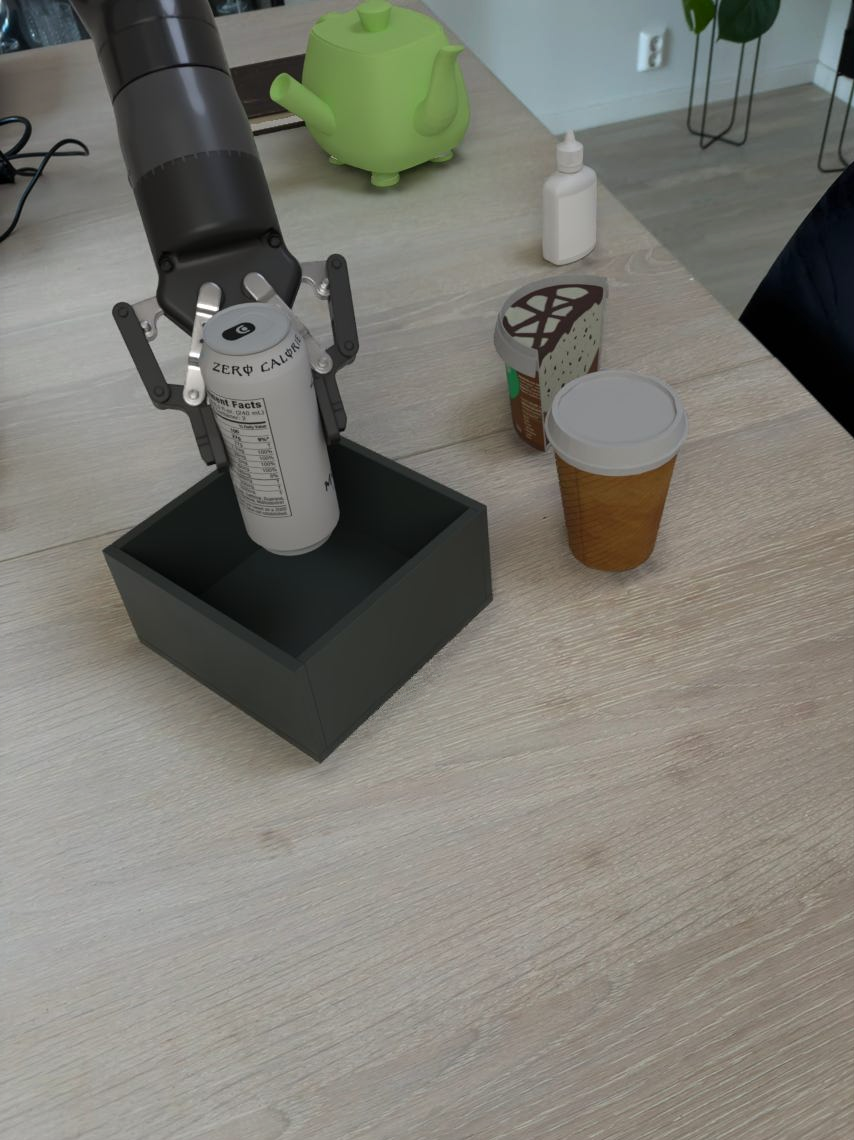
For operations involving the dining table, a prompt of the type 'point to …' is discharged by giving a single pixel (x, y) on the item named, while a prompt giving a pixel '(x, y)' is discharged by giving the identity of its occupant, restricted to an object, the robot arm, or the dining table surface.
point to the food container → (549, 344)
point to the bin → (309, 595)
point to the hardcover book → (266, 90)
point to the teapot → (379, 90)
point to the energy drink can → (270, 426)
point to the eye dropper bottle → (569, 205)
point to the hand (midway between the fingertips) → (279, 455)
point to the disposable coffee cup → (615, 463)
